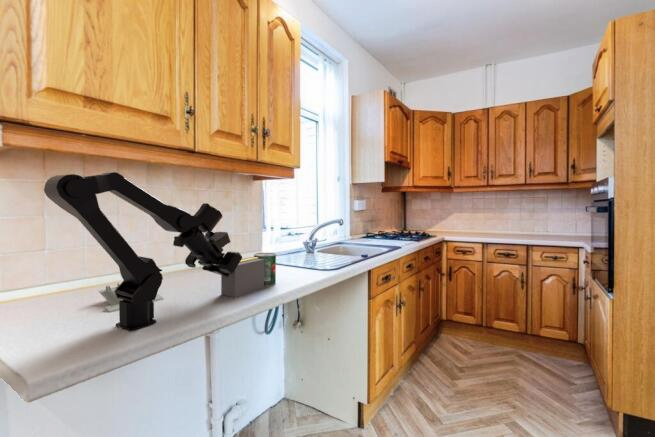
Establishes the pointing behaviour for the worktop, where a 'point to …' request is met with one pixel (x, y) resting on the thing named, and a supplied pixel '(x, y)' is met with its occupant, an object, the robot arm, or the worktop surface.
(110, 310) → the metal bracket
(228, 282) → the grey rectangular box
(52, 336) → the worktop surface
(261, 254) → the canned tomato
